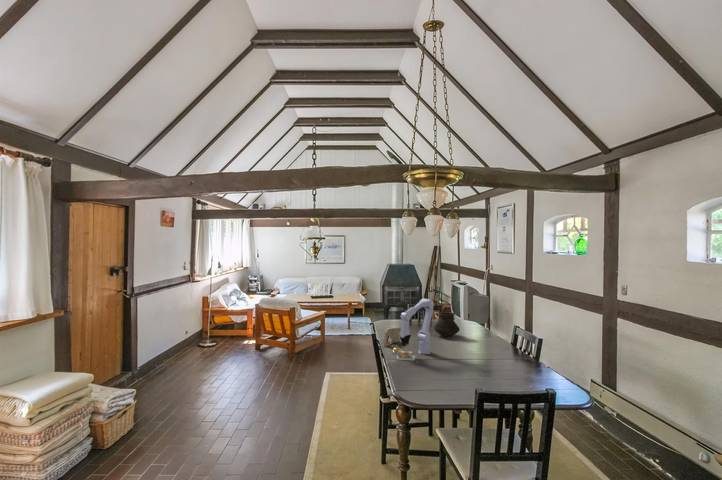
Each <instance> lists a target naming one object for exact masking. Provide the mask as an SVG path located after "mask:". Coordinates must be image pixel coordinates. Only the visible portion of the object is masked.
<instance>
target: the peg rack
mask: <svg viewBox="0 0 722 480" xmlns="http://www.w3.org/2000/svg"><path fill="white" fill-rule="evenodd" d="M396 355H397V356H396V360H397V361H413V362H414V361H416V355H412V358H411V355H410V358H406V355H404V358H403V357H401V358H398V354H396Z"/></svg>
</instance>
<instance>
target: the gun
mask: <svg viewBox="0 0 722 480" xmlns="http://www.w3.org/2000/svg"><path fill="white" fill-rule="evenodd" d="M401 333H402V326H396V327H388V328H385V330H384V331H383V334H384V336H383V341H382V343H383V347H386V348H387V347H388V346H390V344H393V343H394V344H396V343H399V342H401V339H400V337H401V336H400V335H401ZM389 339H390V340H391V341H389Z"/></svg>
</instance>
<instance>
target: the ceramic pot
mask: <svg viewBox="0 0 722 480" xmlns="http://www.w3.org/2000/svg"><path fill="white" fill-rule="evenodd" d="M438 314H439V317H440V318H439V320H438V321H437V322H436V324H435V325H434V327H433V330H434V331H435V333H437V334H439V335H440V336H441V337H443V338H452V337H454V336H455V335H456V334H458V333H459V332H460V331H461V330H460V327H459V325H458V324H457V323H456V321H455V319H454V318H455V316H456V312H451V311H440V312H438Z"/></svg>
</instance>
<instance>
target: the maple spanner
mask: <svg viewBox="0 0 722 480" xmlns="http://www.w3.org/2000/svg"><path fill="white" fill-rule="evenodd" d="M397 355H398V358H401V357H403V358H404V355H406V358H410V355H411V358H412V356H413V352H412V351H408V350H407V351H405V350H402V351H398V354H397Z"/></svg>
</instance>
